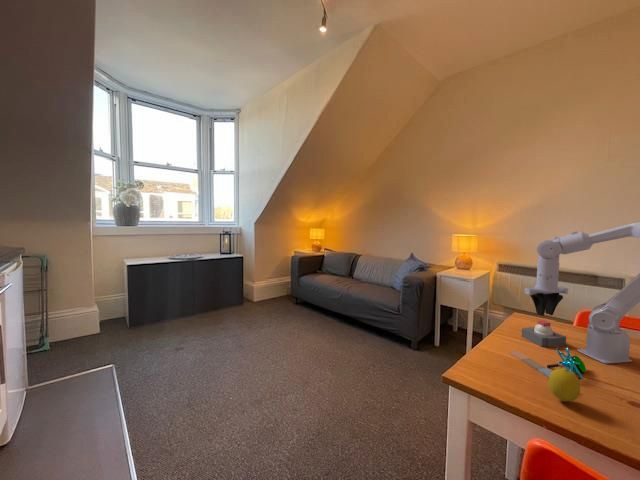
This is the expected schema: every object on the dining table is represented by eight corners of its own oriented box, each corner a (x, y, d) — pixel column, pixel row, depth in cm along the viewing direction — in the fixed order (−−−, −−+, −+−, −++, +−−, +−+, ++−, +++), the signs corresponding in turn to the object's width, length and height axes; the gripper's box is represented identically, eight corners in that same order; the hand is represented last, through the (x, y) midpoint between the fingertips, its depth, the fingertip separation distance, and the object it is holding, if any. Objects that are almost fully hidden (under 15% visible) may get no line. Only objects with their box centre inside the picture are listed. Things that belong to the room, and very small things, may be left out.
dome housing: (542, 334, 102) (543, 326, 101) (567, 346, 93) (567, 337, 92) (520, 335, 101) (520, 327, 100) (542, 347, 92) (543, 338, 91)
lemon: (541, 394, 68) (543, 362, 67) (562, 393, 68) (564, 361, 67) (563, 410, 62) (565, 376, 61) (585, 408, 63) (588, 374, 62)
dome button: (542, 334, 99) (544, 318, 99) (556, 340, 94) (557, 324, 94) (530, 335, 99) (531, 319, 98) (543, 341, 94) (544, 324, 93)
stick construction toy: (576, 377, 71) (560, 345, 75) (546, 381, 76) (533, 351, 80) (597, 379, 76) (581, 349, 80) (568, 382, 81) (554, 354, 85)
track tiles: (517, 352, 88) (517, 350, 88) (563, 379, 74) (563, 377, 74) (508, 353, 88) (509, 351, 88) (553, 380, 73) (553, 378, 73)
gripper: (555, 272, 99) (552, 309, 101) (518, 273, 98) (515, 311, 99) (575, 276, 92) (572, 316, 94) (536, 278, 91) (533, 318, 92)
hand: (544, 314), depth 96 cm, fingers open, 3 cm apart
